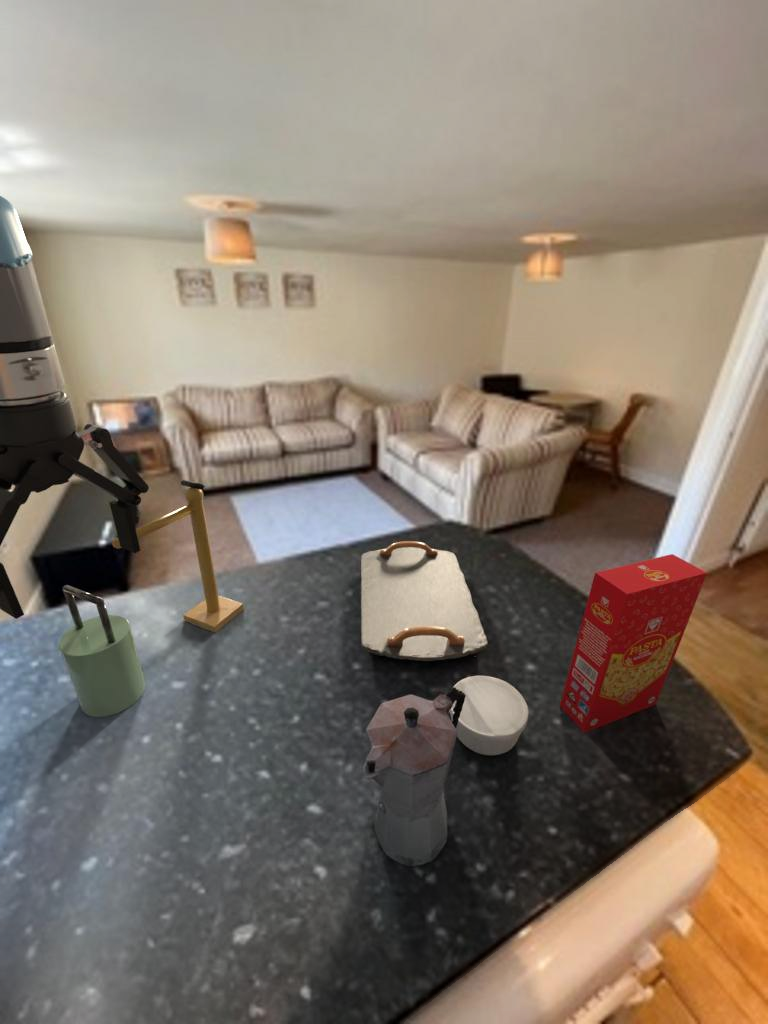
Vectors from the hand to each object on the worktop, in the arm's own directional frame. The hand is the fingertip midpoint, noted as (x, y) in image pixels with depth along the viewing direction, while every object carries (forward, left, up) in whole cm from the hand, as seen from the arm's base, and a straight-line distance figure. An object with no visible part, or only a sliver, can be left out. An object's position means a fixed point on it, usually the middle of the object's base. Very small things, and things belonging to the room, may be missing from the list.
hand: (77, 577), depth 51 cm
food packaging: (+62, +37, -28) cm, 77 cm away
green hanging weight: (-10, +5, -28) cm, 30 cm away
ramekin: (+45, +24, -28) cm, 58 cm away
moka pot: (+40, +7, -28) cm, 49 cm away
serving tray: (+25, +49, -28) cm, 61 cm away
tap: (-10, +21, -28) cm, 36 cm away
